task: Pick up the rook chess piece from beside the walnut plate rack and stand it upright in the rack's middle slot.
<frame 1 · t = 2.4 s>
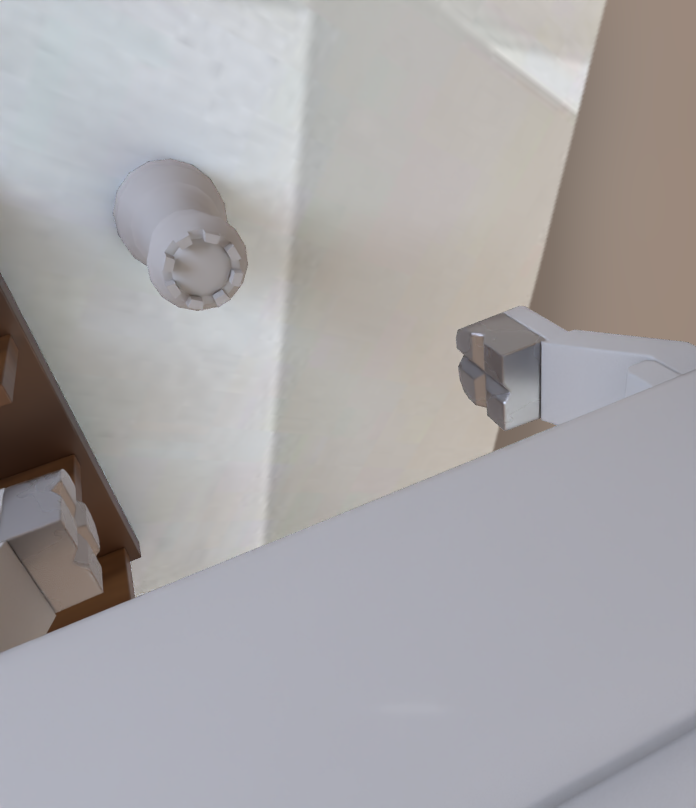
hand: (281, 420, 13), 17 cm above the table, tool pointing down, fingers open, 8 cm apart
rook chess piece: (168, 212, 27), on the table
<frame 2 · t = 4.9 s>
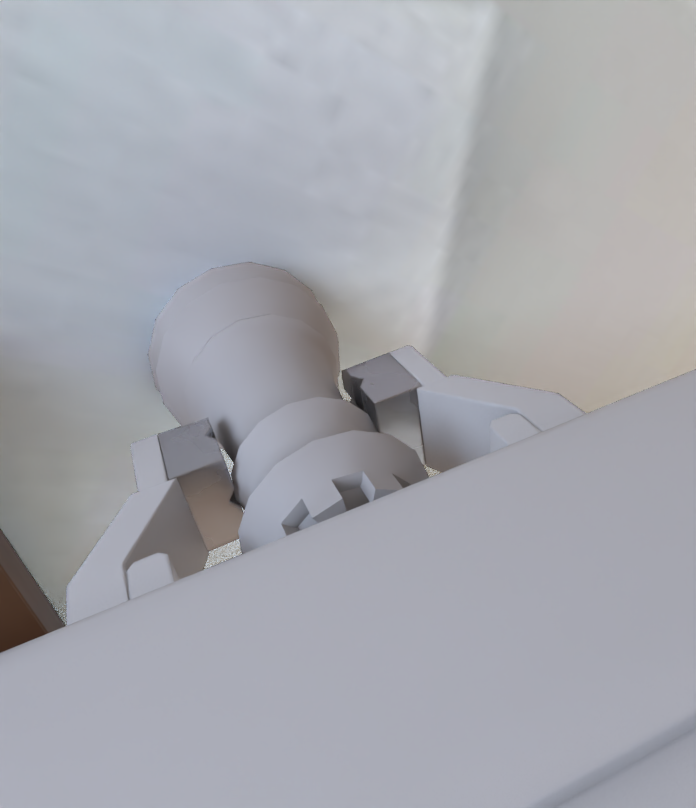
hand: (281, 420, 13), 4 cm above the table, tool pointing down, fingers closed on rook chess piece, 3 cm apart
rook chess piece: (237, 340, 16), on the table, touching gripper
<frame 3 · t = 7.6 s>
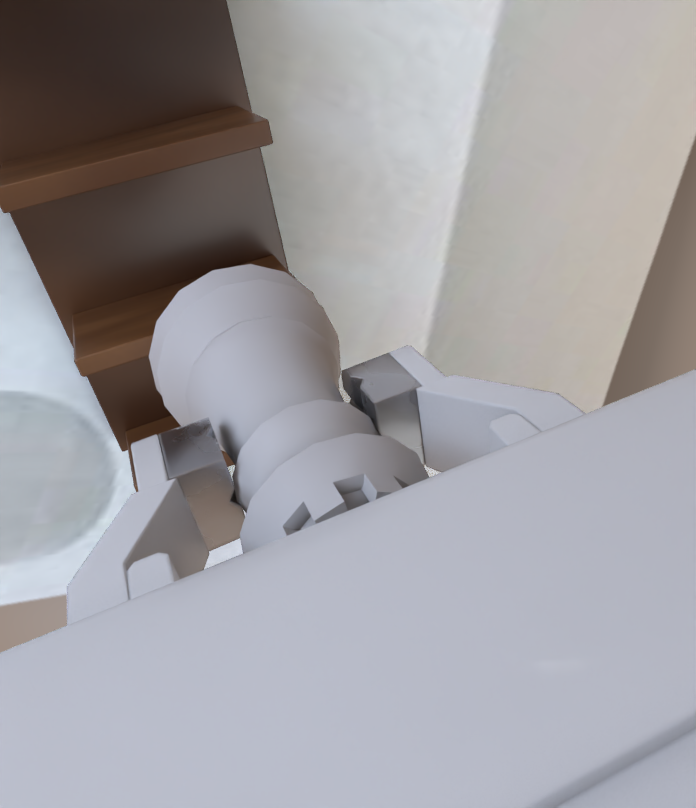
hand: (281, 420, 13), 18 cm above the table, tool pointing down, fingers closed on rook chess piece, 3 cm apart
plate rack: (151, 215, 27), on the table
rook chess piece: (237, 342, 16), point 14 cm above the table, touching gripper
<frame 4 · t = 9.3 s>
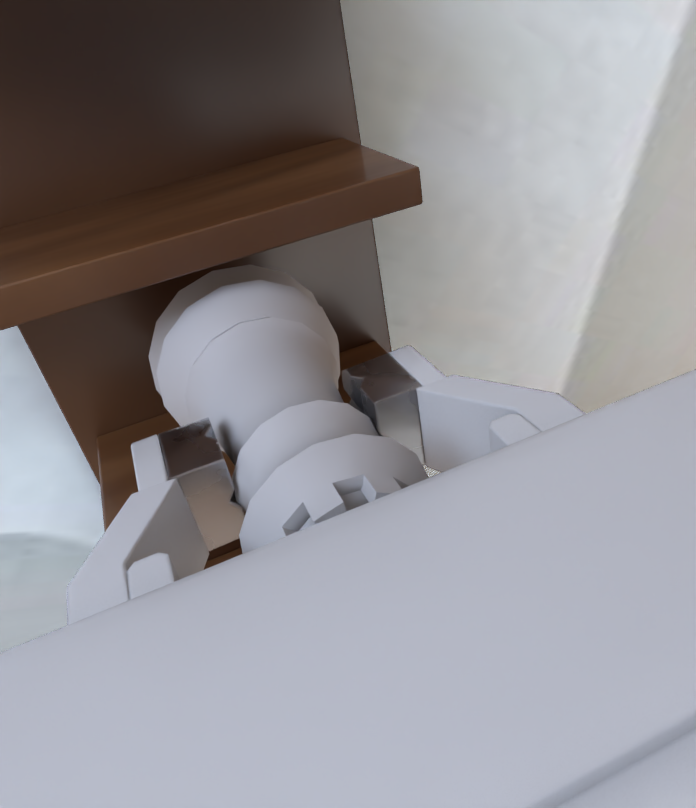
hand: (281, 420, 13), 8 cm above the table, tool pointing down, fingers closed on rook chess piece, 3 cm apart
plate rack: (209, 291, 19), on the table
rook chess piece: (237, 343, 16), point 4 cm above the table, touching gripper
when the fingers open (5 cm above the table, at t = 10.4 s): rook chess piece stays where it is, resting on plate rack.
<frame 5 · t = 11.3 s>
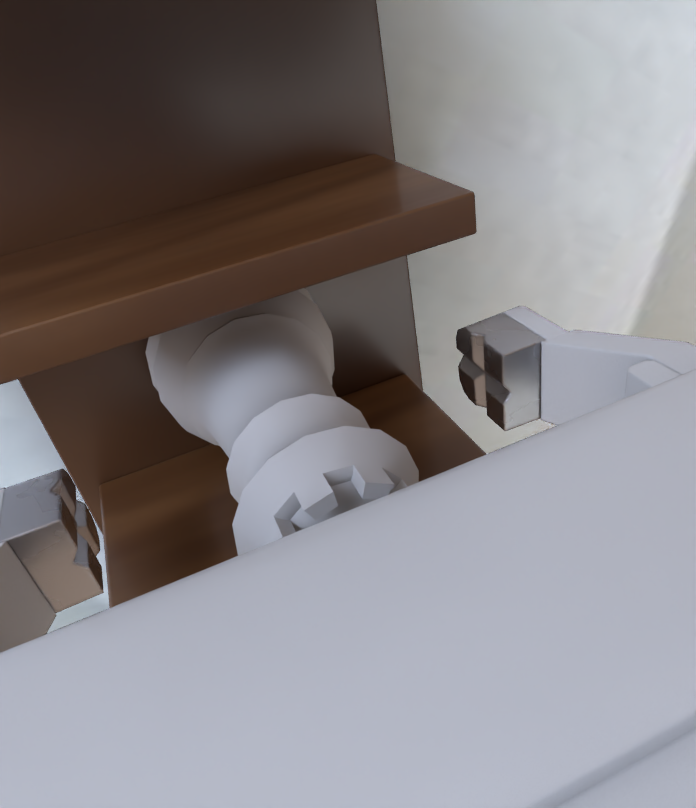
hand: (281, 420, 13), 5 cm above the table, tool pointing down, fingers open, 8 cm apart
plate rack: (224, 322, 17), on the table
rook chess piece: (233, 339, 16), point 1 cm above the table, touching plate rack
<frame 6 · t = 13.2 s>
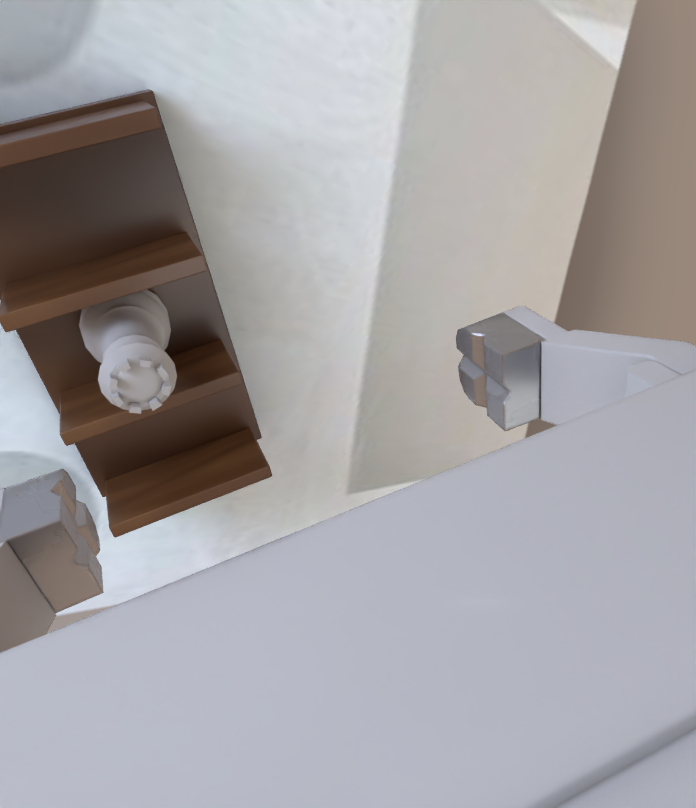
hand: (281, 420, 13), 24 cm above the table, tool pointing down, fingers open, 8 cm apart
plate rack: (122, 312, 34), on the table
rook chess piece: (124, 320, 33), point 1 cm above the table, touching plate rack
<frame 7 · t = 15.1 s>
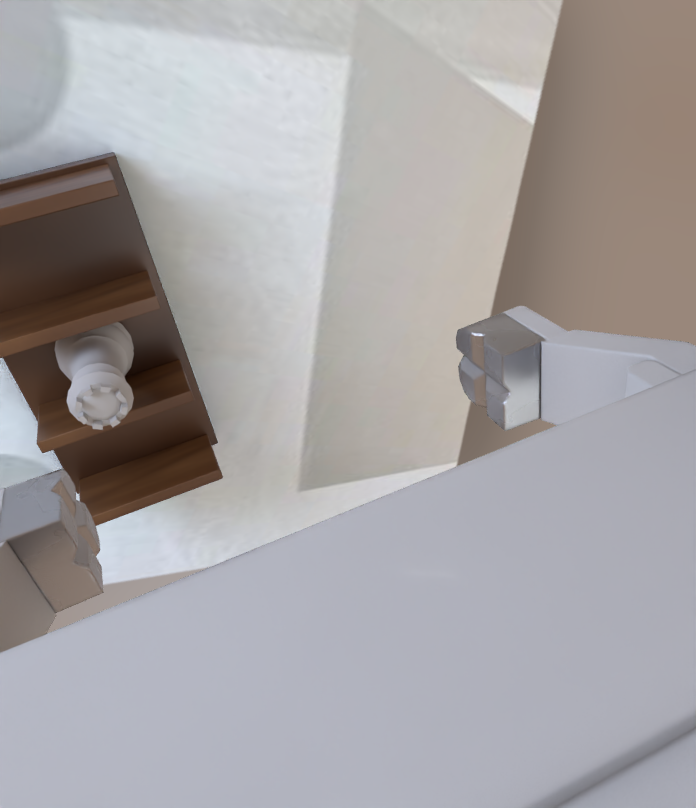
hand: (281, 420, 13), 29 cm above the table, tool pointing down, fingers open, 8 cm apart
plate rack: (93, 336, 40), on the table
rook chess piece: (94, 344, 39), point 1 cm above the table, touching plate rack
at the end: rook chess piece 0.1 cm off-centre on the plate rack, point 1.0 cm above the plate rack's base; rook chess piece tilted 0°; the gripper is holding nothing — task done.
